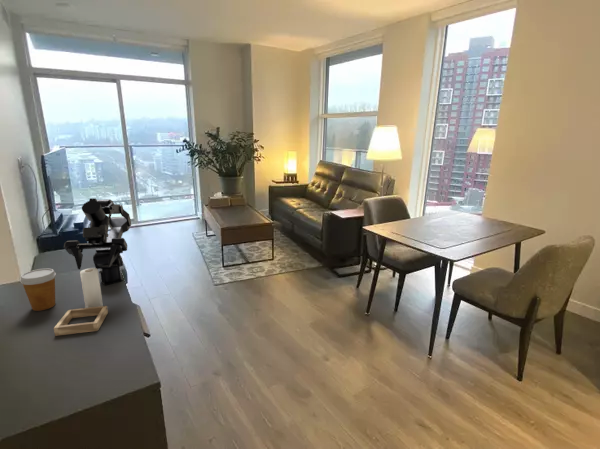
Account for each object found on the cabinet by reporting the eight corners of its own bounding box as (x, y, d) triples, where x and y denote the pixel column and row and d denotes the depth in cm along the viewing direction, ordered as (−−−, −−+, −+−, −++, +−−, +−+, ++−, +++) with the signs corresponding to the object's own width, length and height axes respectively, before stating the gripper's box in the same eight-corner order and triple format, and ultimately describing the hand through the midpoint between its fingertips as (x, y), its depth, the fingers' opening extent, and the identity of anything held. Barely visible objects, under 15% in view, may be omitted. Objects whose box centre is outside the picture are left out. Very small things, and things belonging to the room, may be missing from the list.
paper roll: (100, 301, 116) (95, 266, 113) (104, 306, 113) (99, 270, 110) (83, 306, 113) (78, 270, 109) (87, 311, 109) (82, 274, 106)
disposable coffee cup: (67, 300, 117) (62, 268, 114) (45, 314, 108) (38, 279, 105) (42, 299, 118) (36, 267, 115) (18, 312, 108) (10, 278, 105)
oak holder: (69, 316, 106) (68, 309, 105) (108, 312, 109) (107, 305, 108) (55, 335, 96) (53, 328, 95) (97, 330, 99) (96, 323, 98)
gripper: (61, 218, 113) (52, 260, 105) (121, 215, 118) (117, 255, 110) (73, 234, 122) (66, 273, 115) (129, 231, 127) (125, 269, 119)
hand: (94, 267), depth 114 cm, fingers open, 9 cm apart
